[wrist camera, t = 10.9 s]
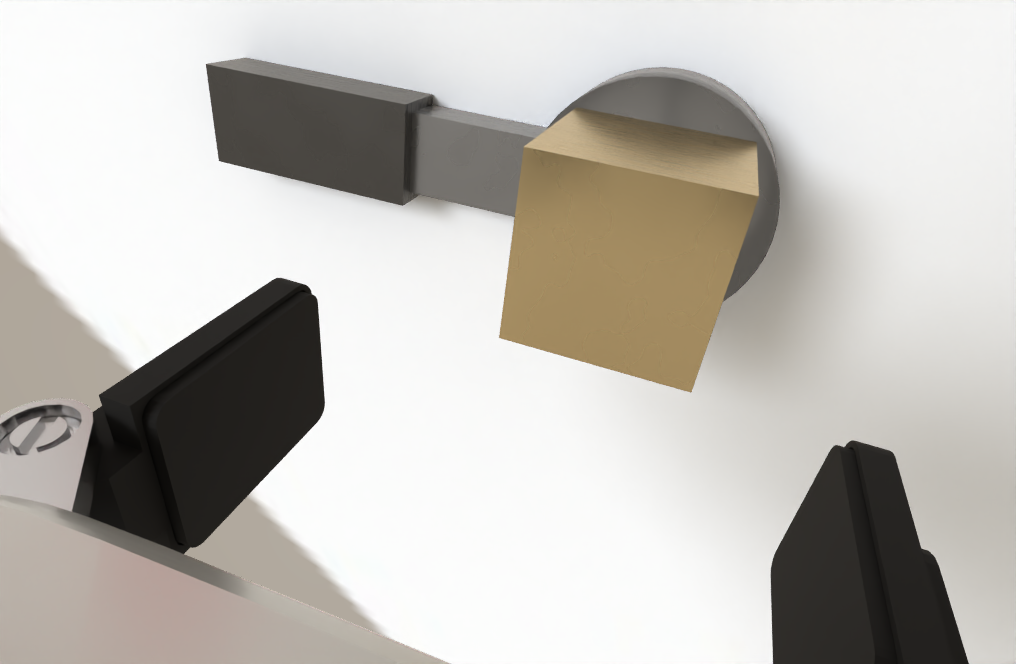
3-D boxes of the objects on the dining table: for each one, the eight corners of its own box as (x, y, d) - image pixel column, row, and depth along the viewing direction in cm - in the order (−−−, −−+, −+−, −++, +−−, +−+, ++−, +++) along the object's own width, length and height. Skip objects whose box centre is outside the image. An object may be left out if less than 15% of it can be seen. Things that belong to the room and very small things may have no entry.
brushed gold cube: (576, 107, 21) (523, 146, 16) (756, 142, 20) (759, 196, 15) (549, 264, 24) (499, 338, 19) (703, 303, 23) (691, 392, 18)
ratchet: (238, -7, 26) (105, -3, 20) (815, 91, 21) (838, 131, 15) (260, 199, 31) (156, 246, 25) (733, 319, 26) (729, 409, 20)
